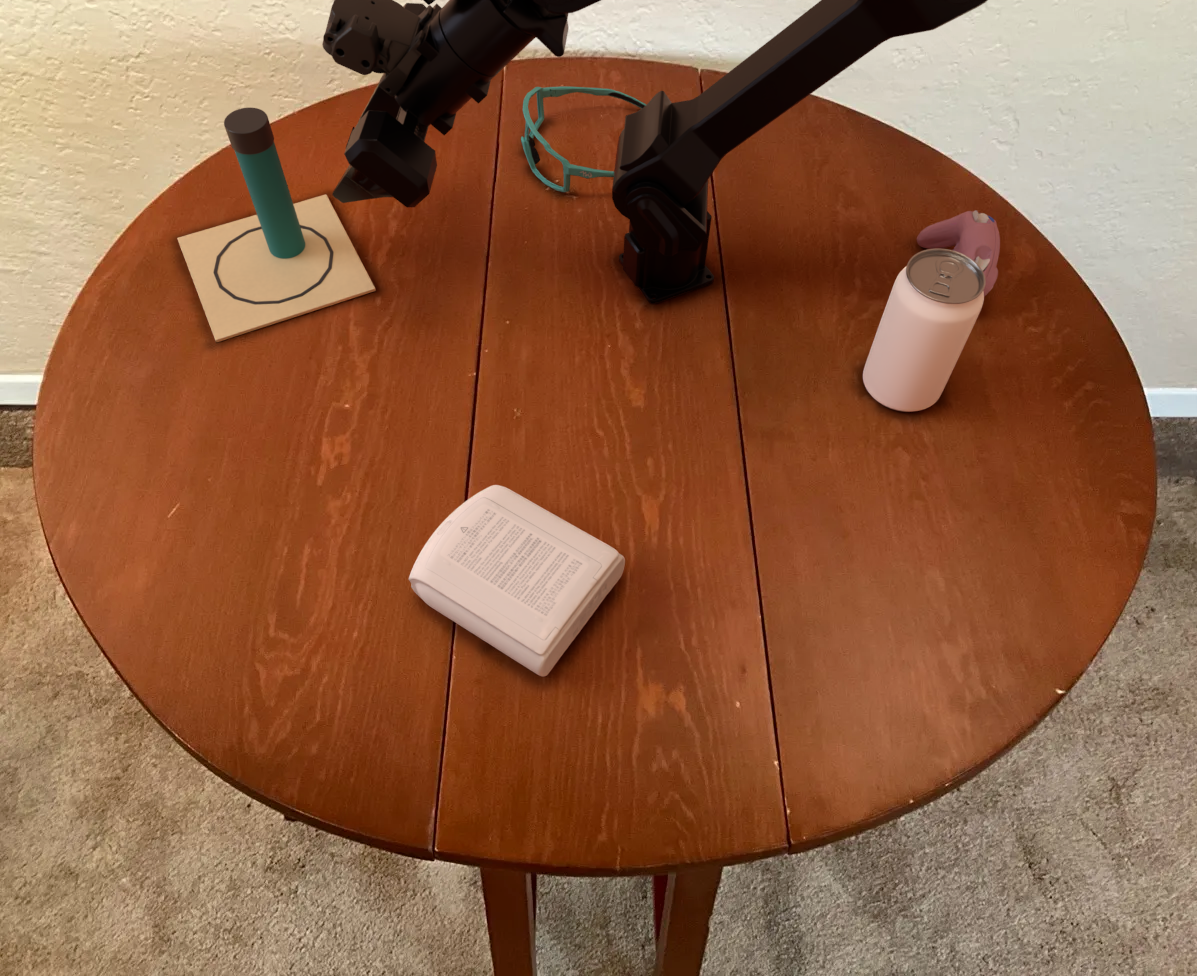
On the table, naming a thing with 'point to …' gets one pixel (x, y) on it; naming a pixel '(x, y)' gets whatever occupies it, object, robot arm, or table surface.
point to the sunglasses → (532, 152)
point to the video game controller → (968, 240)
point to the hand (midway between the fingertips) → (350, 161)
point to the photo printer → (515, 575)
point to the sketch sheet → (272, 271)
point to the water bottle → (265, 180)
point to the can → (924, 329)
